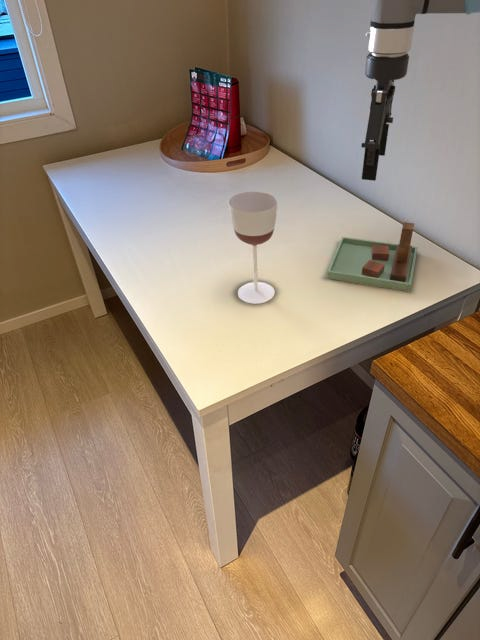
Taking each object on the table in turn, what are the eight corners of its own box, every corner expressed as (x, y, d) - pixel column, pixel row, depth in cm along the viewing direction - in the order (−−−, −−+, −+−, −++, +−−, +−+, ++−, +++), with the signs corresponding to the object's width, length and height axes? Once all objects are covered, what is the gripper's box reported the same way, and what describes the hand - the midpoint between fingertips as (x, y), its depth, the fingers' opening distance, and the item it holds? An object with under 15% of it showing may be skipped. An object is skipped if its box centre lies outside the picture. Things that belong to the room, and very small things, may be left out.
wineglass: (245, 277, 119) (240, 189, 104) (283, 286, 115) (284, 196, 100) (228, 298, 112) (220, 207, 98) (267, 308, 109) (266, 215, 94)
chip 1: (387, 252, 123) (388, 245, 122) (388, 261, 120) (389, 254, 119) (371, 251, 124) (372, 244, 123) (371, 260, 121) (372, 253, 120)
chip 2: (383, 271, 117) (385, 264, 116) (377, 279, 114) (378, 272, 113) (368, 266, 119) (369, 259, 118) (361, 274, 116) (362, 267, 115)
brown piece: (410, 254, 122) (419, 212, 115) (404, 285, 112) (413, 241, 105) (396, 252, 123) (403, 211, 116) (389, 282, 113) (396, 239, 106)
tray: (416, 253, 123) (417, 246, 122) (409, 291, 111) (411, 284, 110) (341, 243, 129) (341, 236, 128) (326, 278, 117) (327, 271, 115)
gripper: (377, 39, 98) (365, 144, 112) (355, 68, 80) (344, 189, 94) (415, 39, 96) (398, 146, 109) (402, 69, 78) (384, 193, 92)
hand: (373, 166), depth 102 cm, fingers open, 13 cm apart
